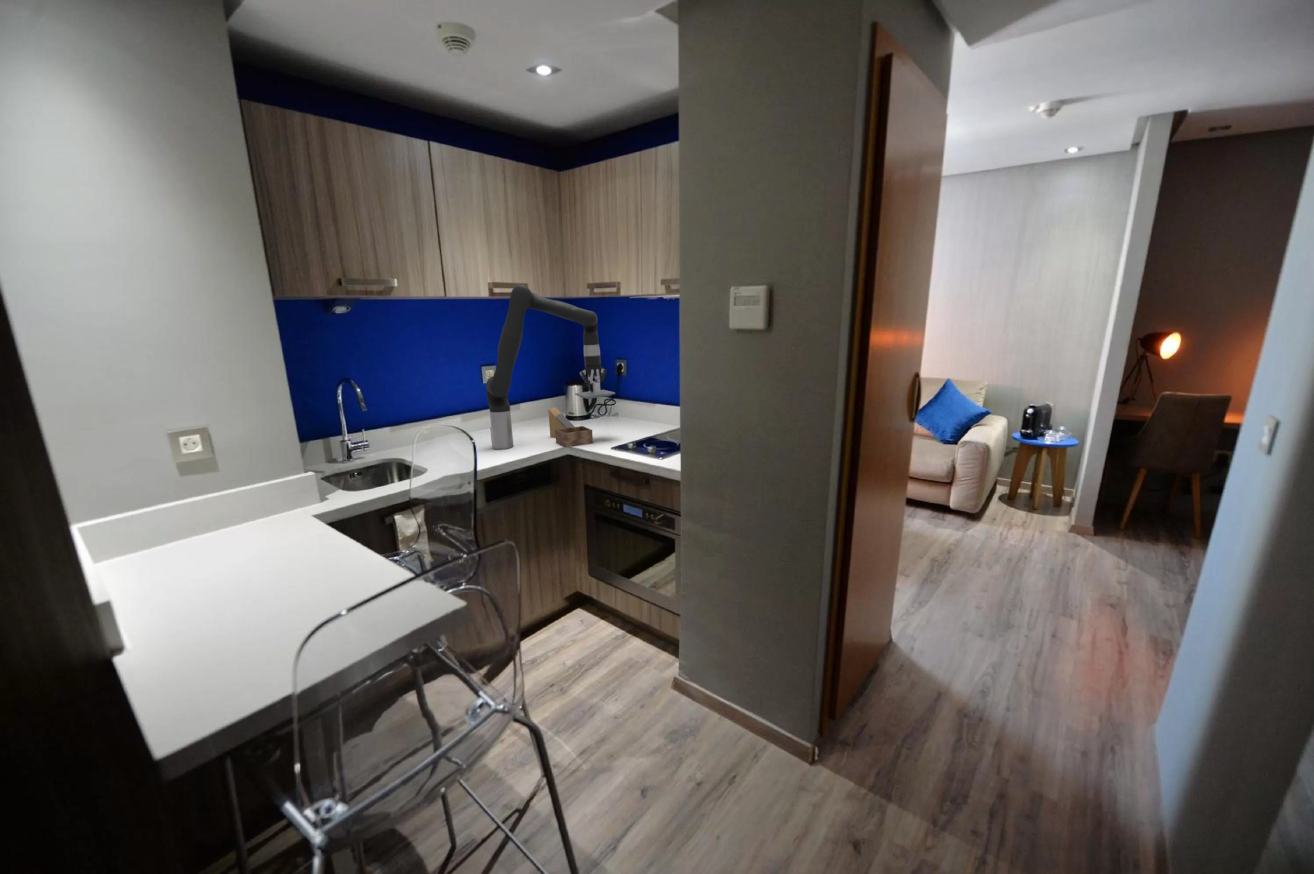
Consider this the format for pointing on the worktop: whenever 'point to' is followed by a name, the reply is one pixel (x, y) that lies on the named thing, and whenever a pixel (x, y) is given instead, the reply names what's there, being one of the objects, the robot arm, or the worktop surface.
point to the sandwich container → (557, 421)
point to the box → (574, 436)
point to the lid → (595, 392)
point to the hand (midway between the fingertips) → (594, 391)
